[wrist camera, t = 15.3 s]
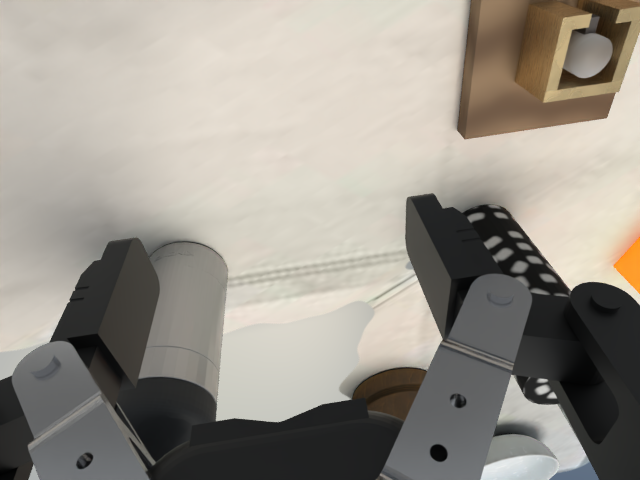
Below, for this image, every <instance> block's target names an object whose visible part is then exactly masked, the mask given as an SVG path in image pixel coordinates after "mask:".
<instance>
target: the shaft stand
mask: <svg viewBox="0 0 640 480" xmlns="http://www.w3.org/2000/svg"><path fill="white" fill-rule="evenodd" d="M546 1H553V0H471V7H470V16H469V26H468V35H467V45H466V54H465V63H464V73H463V82H462V92H461V101H460V111H459V120H458V130H457V131H458V132H459V133H460V134H461V135H462V137H463V138H464V139H470V138H477V137H484V136H490V135H497V134H504V133H510V132H517V131H524V130H530V129H537V128H544V127H550V126H557V125H564V124H571V123H577V122H584V121H591V120H597V119H604V118H607V116H608V114H609V111H610V108H611V105H612V102H613V99H614V96H615V93H616V92H614V93H607V94H600V95H594V96H587V97H580V98H573V99H566V100H560V101H553V102H546V103H543V102H541V101H540V100H539V99H537V98H536V97H535V96H533V95H532V94H530V93H529V92H528V91H526V90H525V89H524V88H522V87H521V86H519V85H518V84H517V83H515V82H514V81H515V76H516V70H517V65H518V59H519V54H520V49H521V43H522V38H523V32H524V27H525V22H526V16H527V11H528V5H529V4H532V3H539V2H546ZM555 1H558V2H561V3H564V4H566V5H569V6H572V7H575V8H576V7H577V3H578V0H555ZM631 1H634V2H638V3H640V0H631ZM599 18H600V16H597V15H594V14H592V16H591V20H590V24H589V27H588V28H581V29H574V30H572V33H571V37H570V41H569V45H568V49H567V53H566V57H565V61H564V65H563V69H565V70H567V71H568V72H570V73H572V74H574V75H575V76H577V77H579V78H588V77H592V76H594V75H596V74H597V73H599V72H600V71H601V70H602V69H603V68H604V67H605V66H606V65H607V63H608V62H609V60H610V58H611V55H612V50H613V47H612V43H611V41H610V40H609V39H608V38H606V37H603V36H601V35H599V34H596V33H595V32H596V28H597V25H598V21H599Z"/></svg>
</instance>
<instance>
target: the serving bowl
mask: <svg viewBox="0 0 640 480" xmlns="http://www.w3.org/2000/svg"><path fill="white" fill-rule="evenodd" d="M558 468H559V462H558V460H557V458H556V457H555V455H554V454H553V453H552V452H551V450H550V449H549V448H548V447H547V446H546V445H544V444H543V443H542V442H540V441H538V440H536V439H534V438H532V437H529V436H525V435H519V434H507V435H500V436H495V437H493V438H492V442H491V445H490V448H489V452H488V455H487V459H486V462H485V465H484V469H483V472H482V476H481V479H480V480H548V479H549V478H551V477H552V476H553V475H554V474H555V473H556V472H557V470H558Z"/></svg>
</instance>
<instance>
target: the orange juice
mask: <svg viewBox="0 0 640 480" xmlns="http://www.w3.org/2000/svg"><path fill="white" fill-rule="evenodd" d="M614 267H615V268H616V269H617V271H618V272H619V273H620V274H621V275H622V276H623V277H624V278H625V279H626V280H627V281H628V282H629V283H630V284H631V285H632V286H633V287H634V288H635V289H636V290H637V292H638V293H639V294H640V237H639V238H638V239H637V240H636V242H635V243H634V244H633V245H632V246H631V247H630V248H629V249H628V250H627V252H626V253H625V254H624V255H623V256H622V257H621V258H620V259H619V260H618V262H617V263H616V264H615V265H614Z"/></svg>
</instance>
